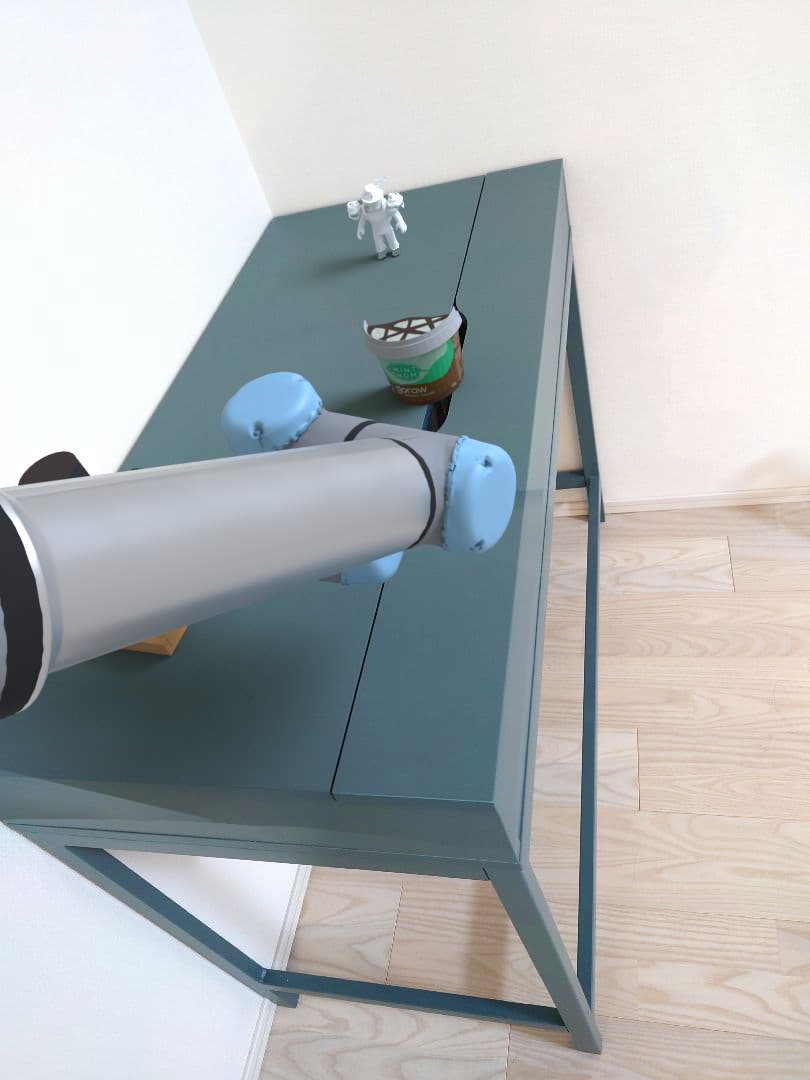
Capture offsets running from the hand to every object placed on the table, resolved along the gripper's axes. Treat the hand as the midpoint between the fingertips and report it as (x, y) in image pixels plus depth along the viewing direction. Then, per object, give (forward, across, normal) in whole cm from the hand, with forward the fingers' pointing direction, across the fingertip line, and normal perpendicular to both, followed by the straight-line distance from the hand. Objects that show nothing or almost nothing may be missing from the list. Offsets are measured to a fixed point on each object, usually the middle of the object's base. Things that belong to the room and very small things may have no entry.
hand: (50, 520), depth 82 cm
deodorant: (-5, 0, -8) cm, 10 cm away
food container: (-27, +35, -13) cm, 46 cm away
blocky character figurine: (-10, +70, -14) cm, 72 cm away
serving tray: (-5, 0, -13) cm, 14 cm away
